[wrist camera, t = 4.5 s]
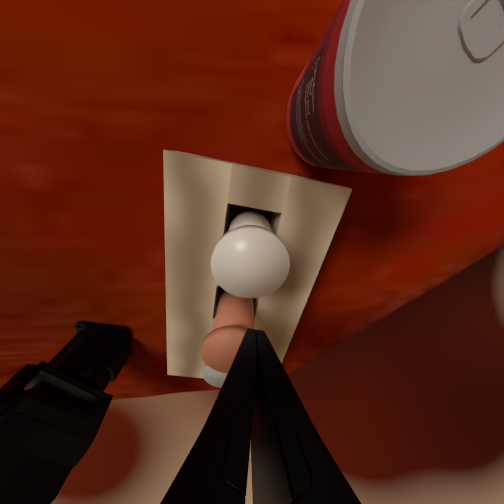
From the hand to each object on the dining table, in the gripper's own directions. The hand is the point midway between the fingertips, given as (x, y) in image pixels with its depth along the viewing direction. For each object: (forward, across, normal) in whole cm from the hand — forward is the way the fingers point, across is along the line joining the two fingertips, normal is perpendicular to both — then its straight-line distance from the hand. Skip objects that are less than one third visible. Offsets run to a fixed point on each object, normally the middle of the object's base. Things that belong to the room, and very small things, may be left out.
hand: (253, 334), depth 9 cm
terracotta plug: (+9, 0, +6) cm, 11 cm away
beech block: (+12, 0, +6) cm, 14 cm away
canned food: (+13, -4, -12) cm, 18 cm away
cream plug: (+9, +1, -2) cm, 9 cm away
